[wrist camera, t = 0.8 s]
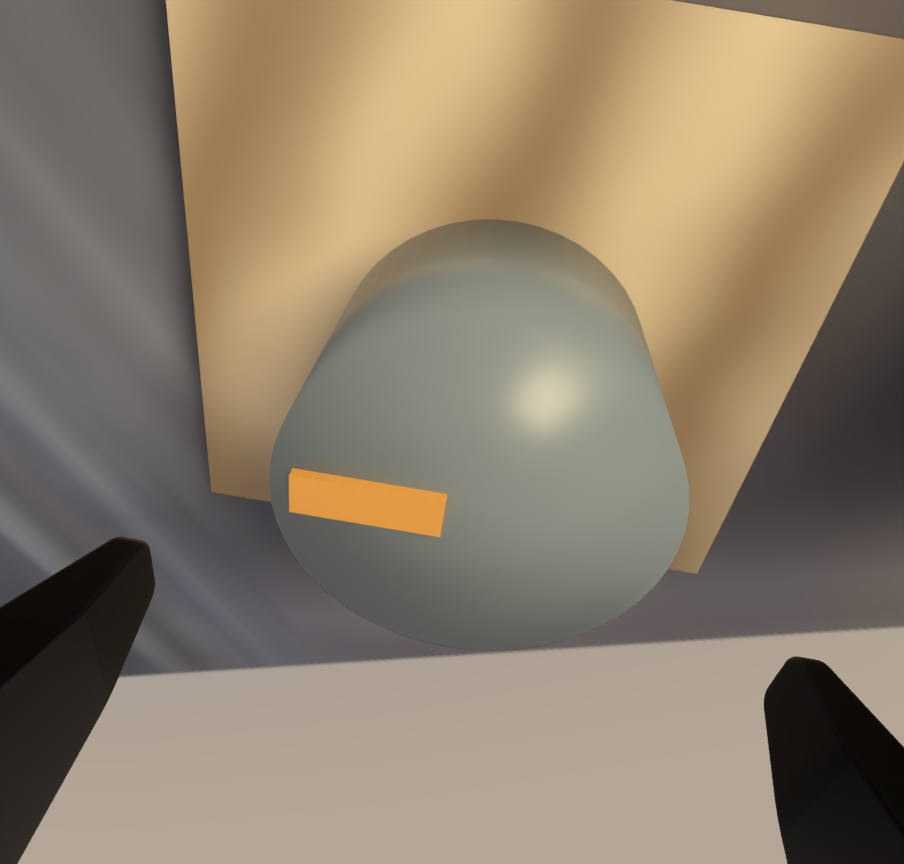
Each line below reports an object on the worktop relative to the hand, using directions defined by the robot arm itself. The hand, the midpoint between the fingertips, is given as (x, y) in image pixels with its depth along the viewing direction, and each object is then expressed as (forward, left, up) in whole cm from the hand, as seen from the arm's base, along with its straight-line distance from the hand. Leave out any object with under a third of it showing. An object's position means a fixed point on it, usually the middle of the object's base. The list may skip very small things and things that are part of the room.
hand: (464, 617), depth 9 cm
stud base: (0, 0, -11) cm, 11 cm away
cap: (0, 0, -7) cm, 7 cm away
